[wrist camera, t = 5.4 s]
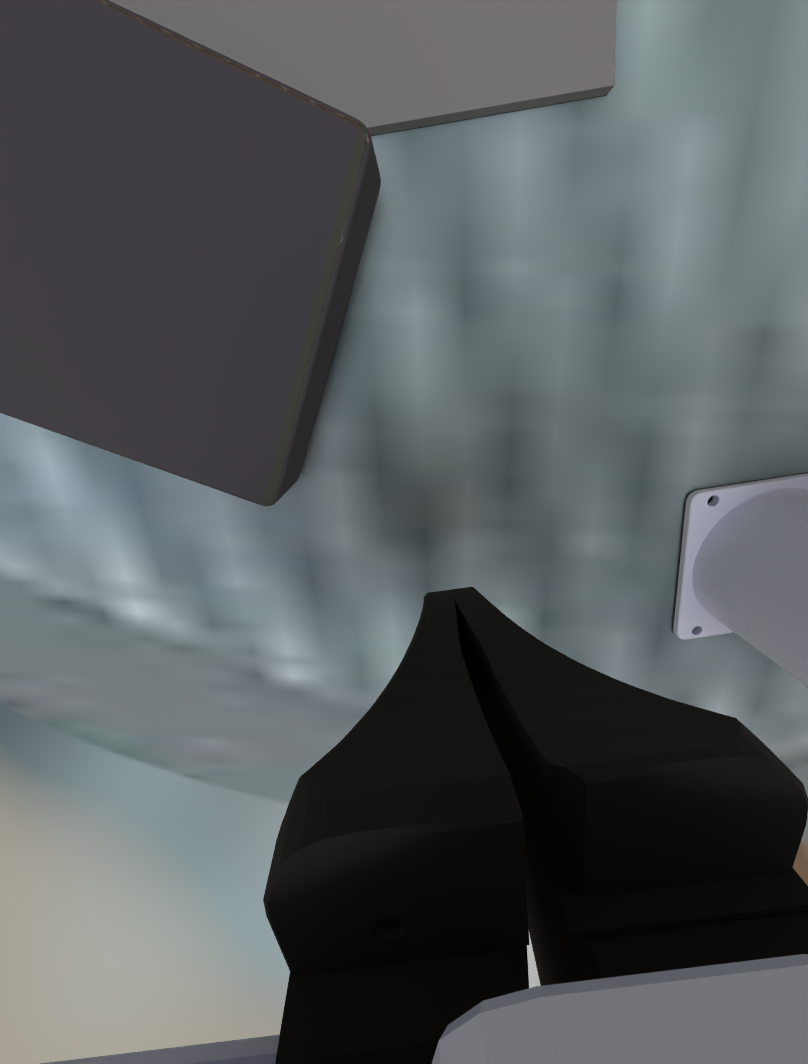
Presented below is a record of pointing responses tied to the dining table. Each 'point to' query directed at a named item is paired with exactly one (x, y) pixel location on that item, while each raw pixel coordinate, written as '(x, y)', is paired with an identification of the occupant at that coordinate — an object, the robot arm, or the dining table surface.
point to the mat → (410, 51)
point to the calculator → (170, 245)
